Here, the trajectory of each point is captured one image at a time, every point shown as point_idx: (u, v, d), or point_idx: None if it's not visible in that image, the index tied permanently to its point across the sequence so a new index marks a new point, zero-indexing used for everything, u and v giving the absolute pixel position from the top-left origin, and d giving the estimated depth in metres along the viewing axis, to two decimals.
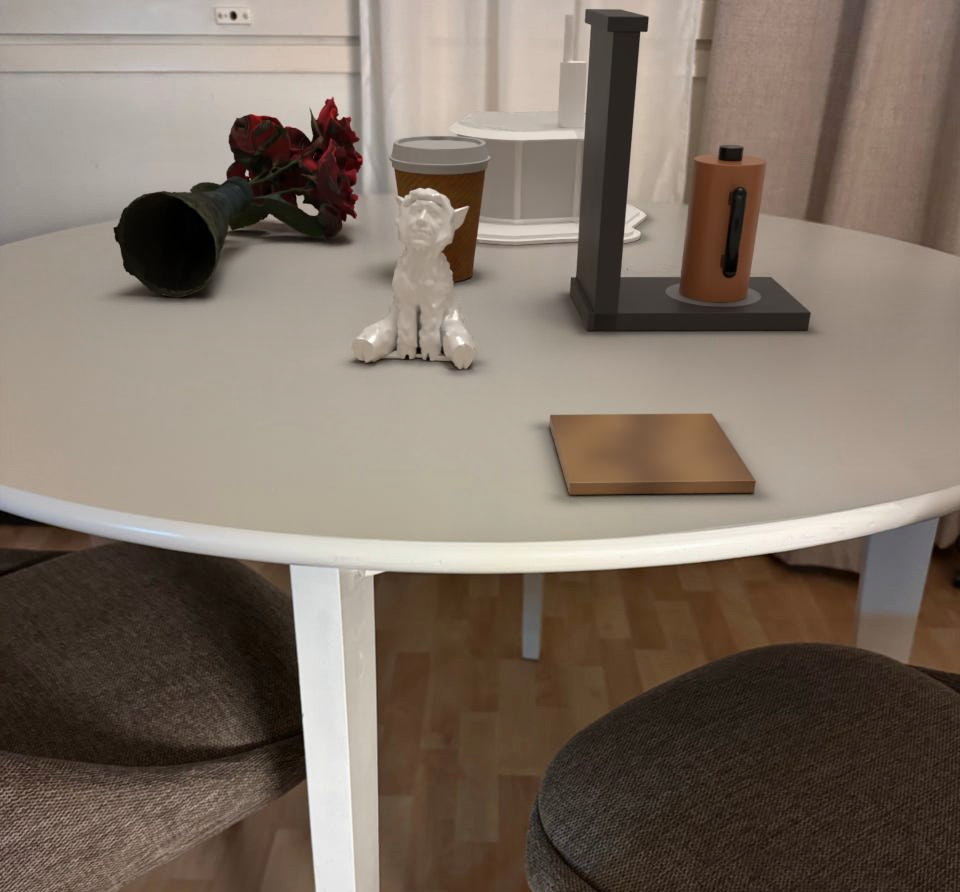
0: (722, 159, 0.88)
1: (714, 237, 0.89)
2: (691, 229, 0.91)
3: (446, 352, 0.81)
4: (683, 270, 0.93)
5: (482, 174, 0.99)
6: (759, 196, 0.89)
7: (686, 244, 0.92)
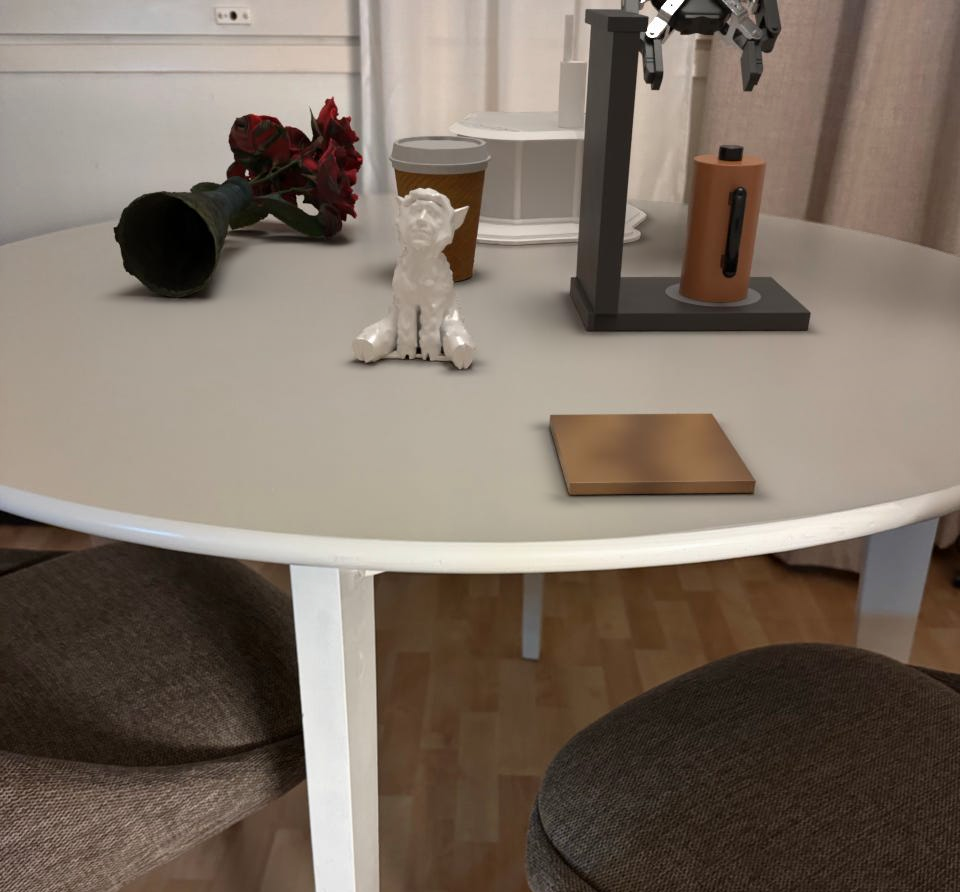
0: (722, 159, 0.88)
1: (714, 237, 0.89)
2: (691, 229, 0.91)
3: (446, 352, 0.81)
4: (683, 270, 0.93)
5: (482, 174, 0.99)
6: (759, 196, 0.89)
7: (686, 244, 0.92)
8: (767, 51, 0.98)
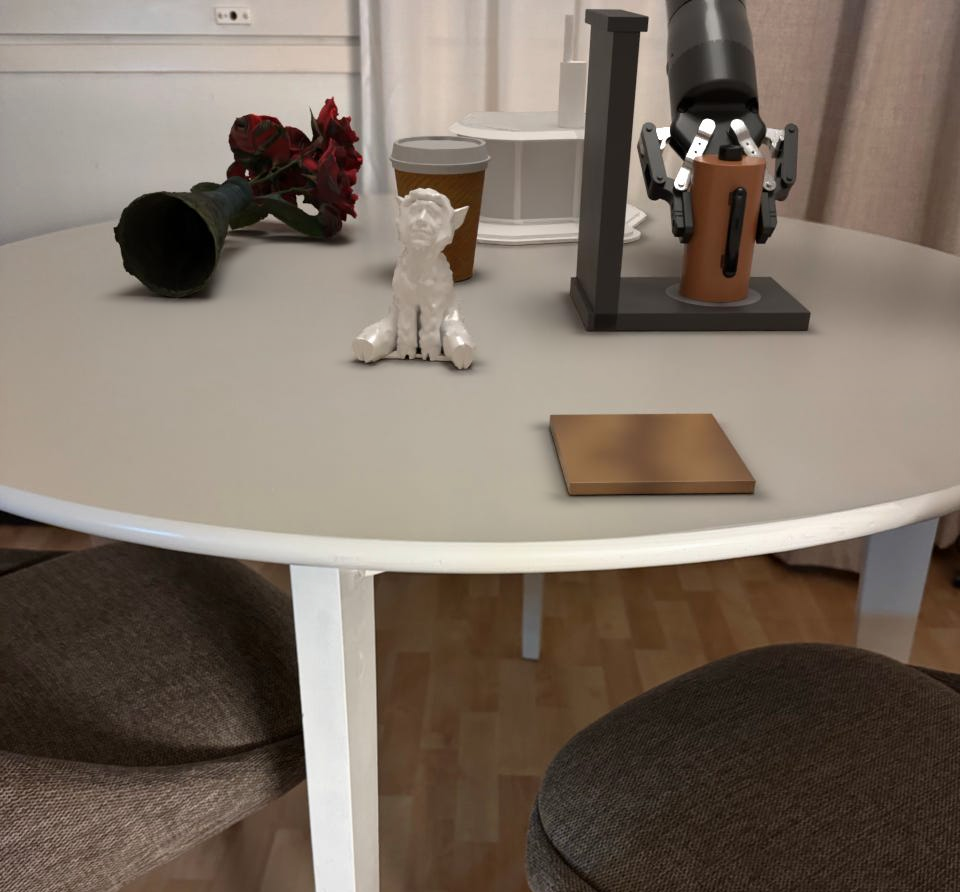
0: (722, 159, 0.88)
1: (714, 237, 0.89)
2: None
3: (446, 352, 0.81)
4: (683, 270, 0.93)
5: (482, 174, 0.99)
6: (759, 196, 0.89)
7: (686, 244, 0.92)
8: (779, 199, 0.93)
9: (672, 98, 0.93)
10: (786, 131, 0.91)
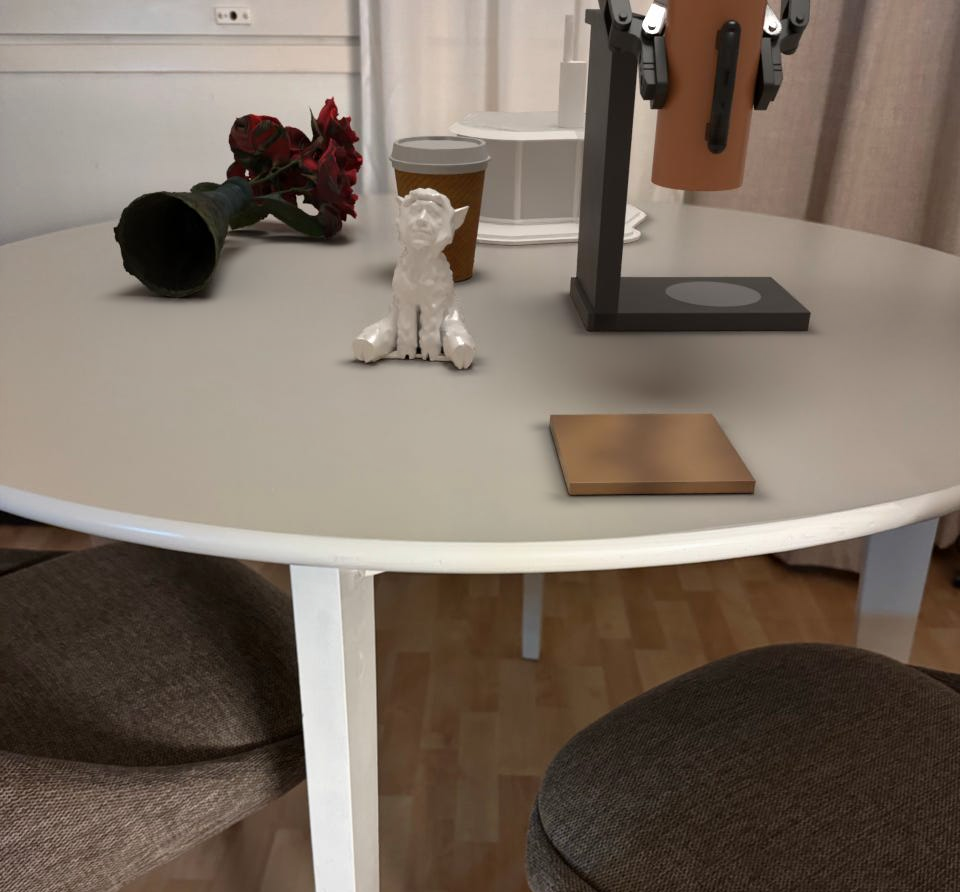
0: None
1: (697, 98, 0.65)
2: None
3: (446, 352, 0.81)
4: (656, 149, 0.69)
5: (482, 174, 0.99)
6: (758, 40, 0.65)
7: (659, 112, 0.68)
8: (786, 52, 0.69)
9: None
10: None
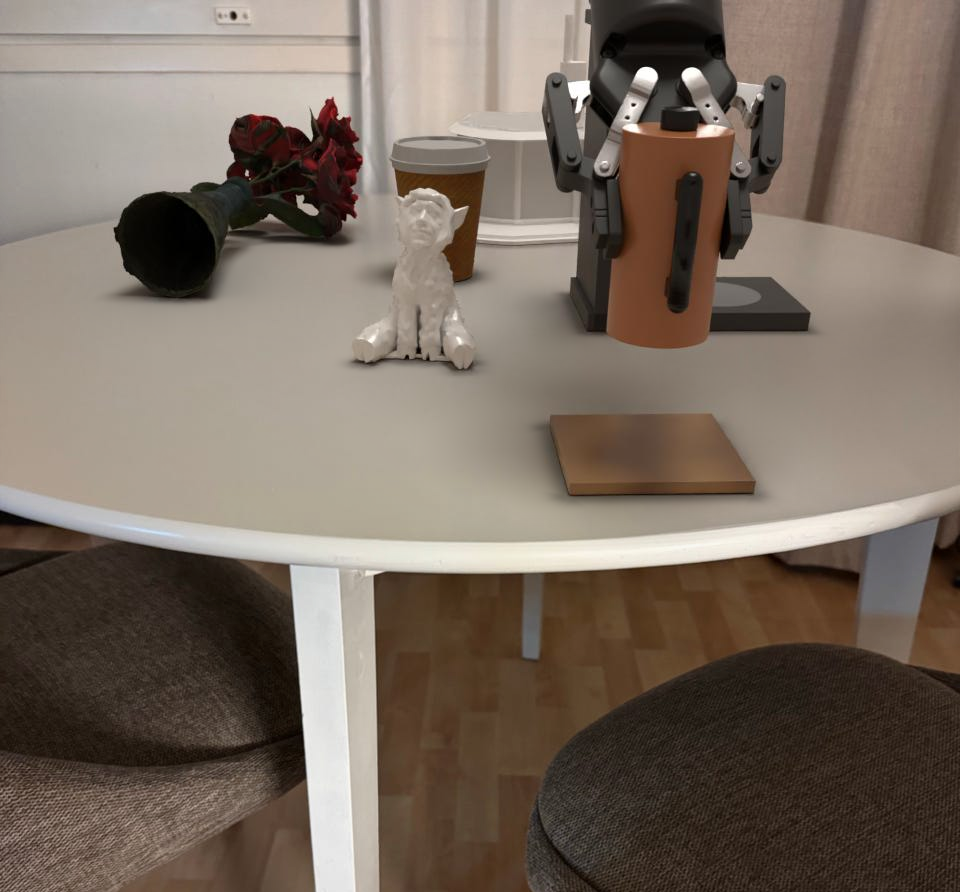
0: (666, 128, 0.56)
1: (655, 251, 0.58)
2: None
3: (446, 352, 0.81)
4: (611, 299, 0.61)
5: (482, 174, 0.99)
6: (724, 186, 0.57)
7: (614, 260, 0.60)
8: (757, 191, 0.61)
9: (595, 37, 0.61)
10: (767, 87, 0.60)
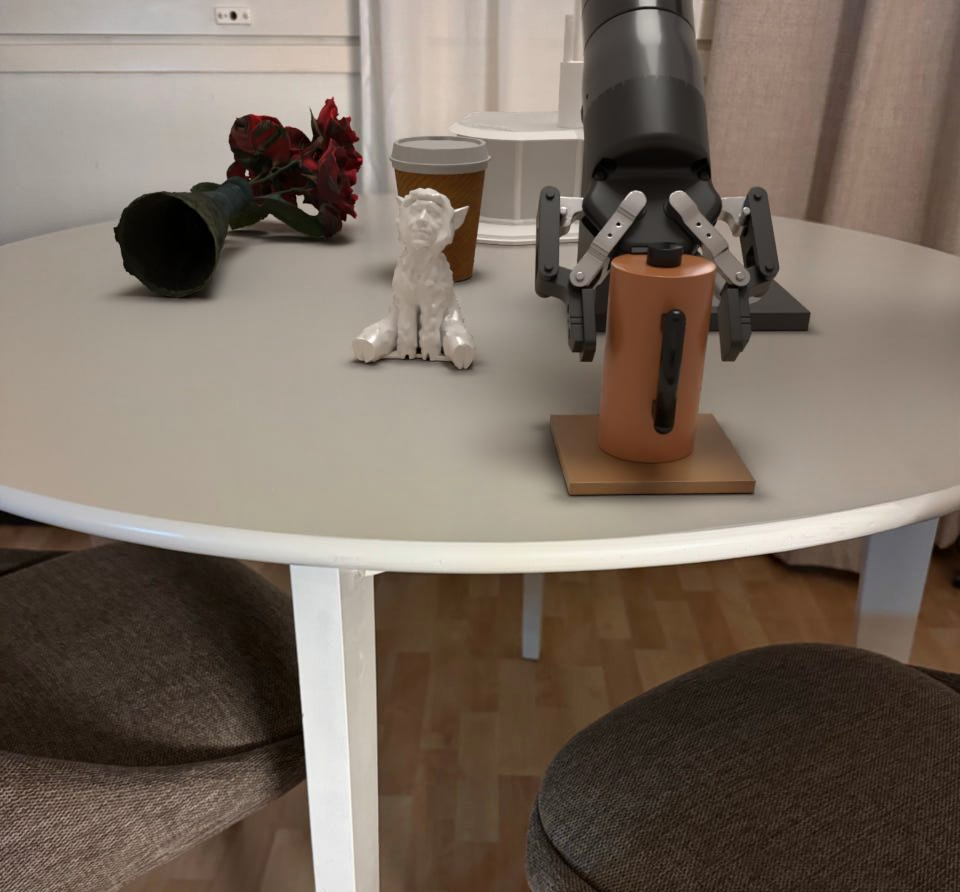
0: (652, 264, 0.60)
1: (642, 376, 0.61)
2: (609, 361, 0.63)
3: (446, 352, 0.81)
4: (601, 415, 0.65)
5: (482, 174, 0.99)
6: (706, 317, 0.61)
7: (604, 380, 0.64)
8: (758, 295, 0.64)
9: (587, 159, 0.64)
10: (751, 199, 0.63)
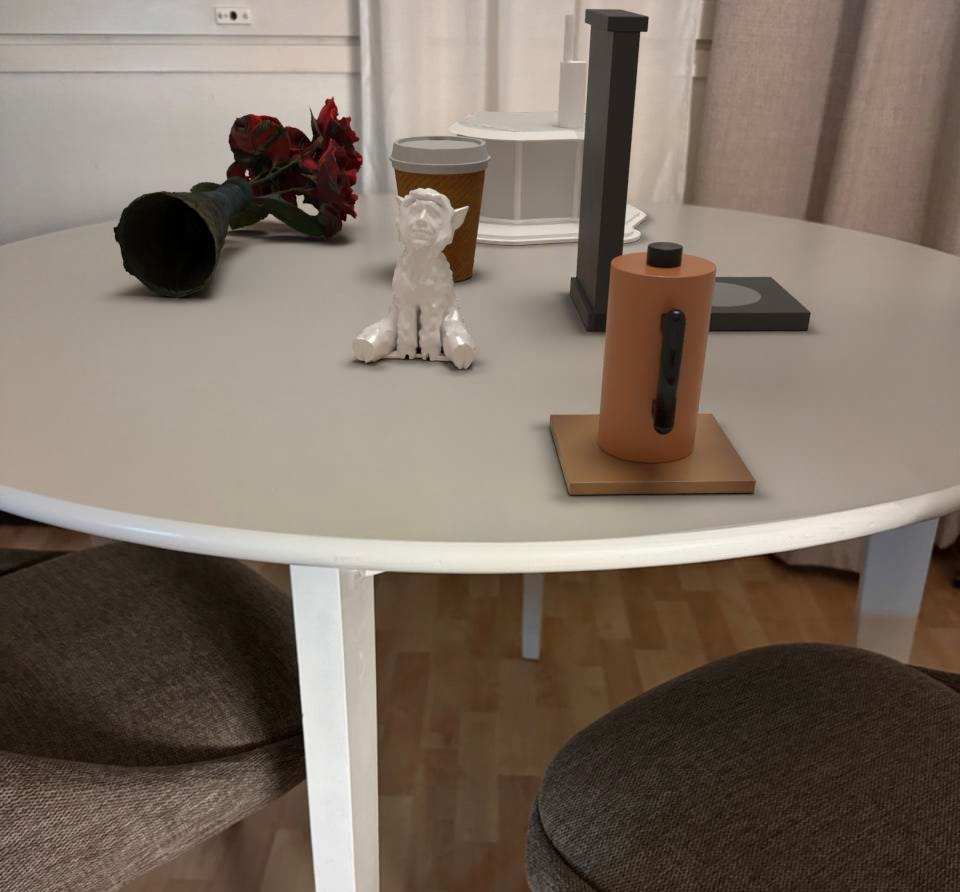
0: (652, 264, 0.60)
1: (642, 376, 0.61)
2: (609, 361, 0.63)
3: (446, 352, 0.81)
4: (601, 415, 0.65)
5: (482, 174, 0.99)
6: (706, 317, 0.61)
7: (604, 380, 0.64)
8: None
9: None
10: None
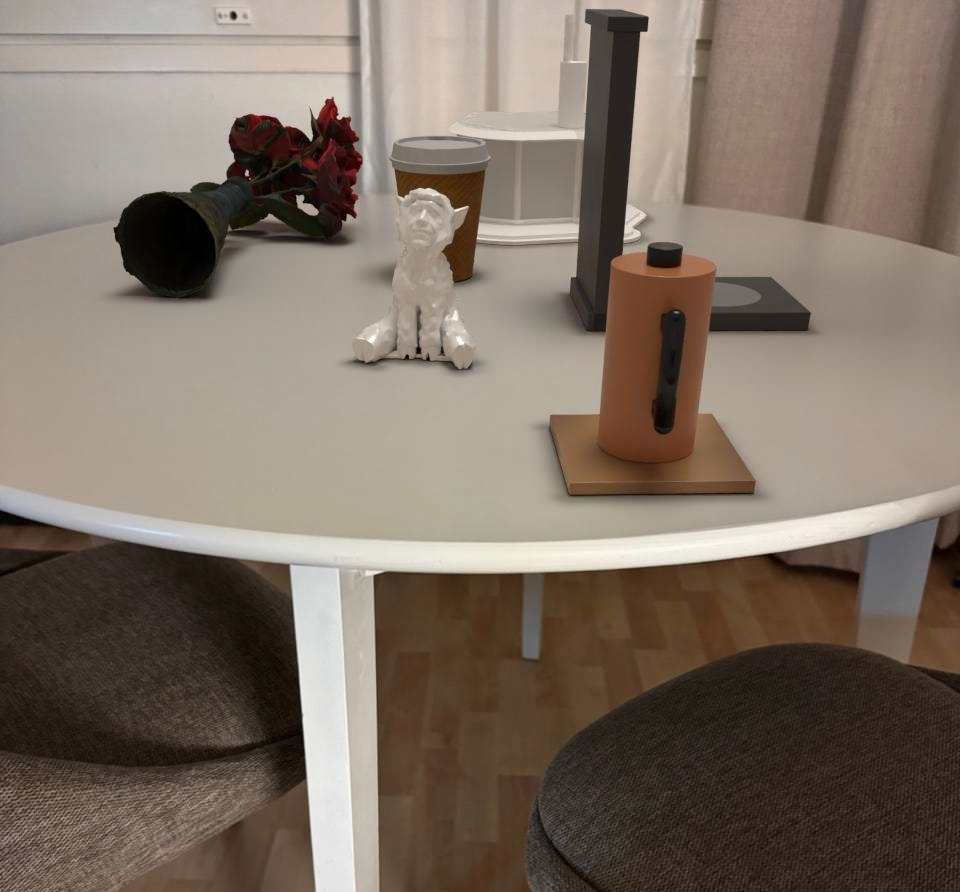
0: (652, 264, 0.60)
1: (642, 376, 0.61)
2: (609, 361, 0.63)
3: (446, 352, 0.81)
4: (601, 415, 0.65)
5: (482, 174, 0.99)
6: (706, 317, 0.61)
7: (604, 380, 0.64)
8: None
9: None
10: None
